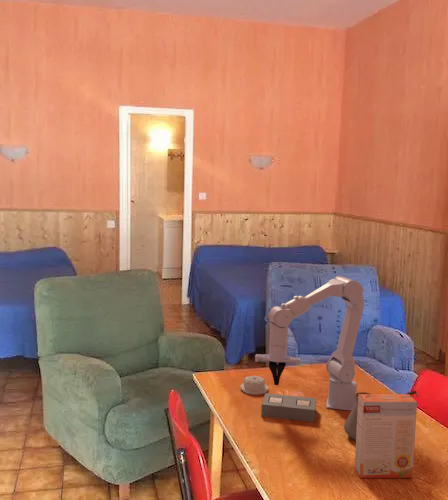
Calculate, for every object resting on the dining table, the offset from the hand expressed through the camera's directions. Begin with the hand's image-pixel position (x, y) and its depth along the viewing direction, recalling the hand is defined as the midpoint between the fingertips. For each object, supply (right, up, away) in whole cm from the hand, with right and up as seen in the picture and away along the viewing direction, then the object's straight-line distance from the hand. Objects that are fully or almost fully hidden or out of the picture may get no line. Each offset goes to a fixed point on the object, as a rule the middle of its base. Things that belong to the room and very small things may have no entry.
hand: (276, 384), depth 186 cm
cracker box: (+25, -15, -36) cm, 46 cm away
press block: (+4, -10, 0) cm, 10 cm away
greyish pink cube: (0, -9, +1) cm, 9 cm away
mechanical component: (-6, -7, +20) cm, 22 cm away
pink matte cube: (+9, -10, -1) cm, 13 cm away
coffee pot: (+29, -13, -16) cm, 36 cm away
